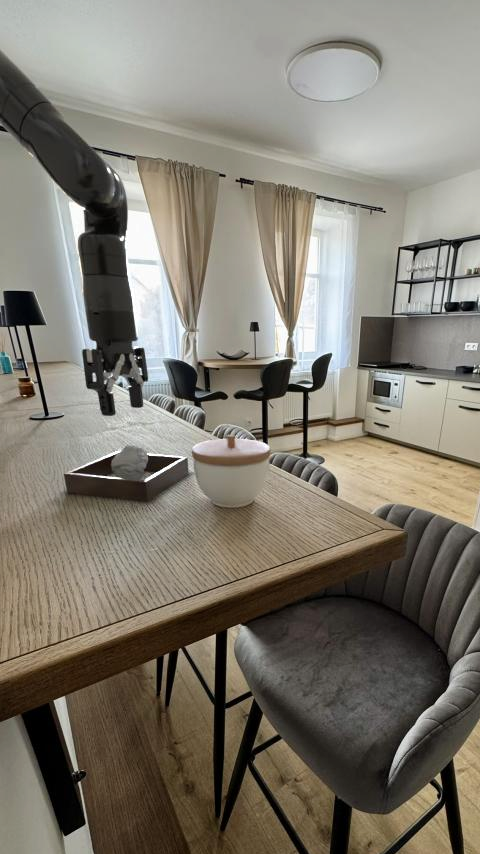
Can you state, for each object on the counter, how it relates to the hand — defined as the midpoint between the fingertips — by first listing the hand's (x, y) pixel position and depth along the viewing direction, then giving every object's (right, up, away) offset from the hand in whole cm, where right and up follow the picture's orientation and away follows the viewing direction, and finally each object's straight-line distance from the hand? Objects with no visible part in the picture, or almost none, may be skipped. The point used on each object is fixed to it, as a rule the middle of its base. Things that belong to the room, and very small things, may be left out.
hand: (123, 411), depth 72 cm
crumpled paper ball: (0, -13, +5) cm, 14 cm away
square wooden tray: (0, -12, +5) cm, 13 cm away
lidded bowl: (+19, -16, -2) cm, 25 cm away
